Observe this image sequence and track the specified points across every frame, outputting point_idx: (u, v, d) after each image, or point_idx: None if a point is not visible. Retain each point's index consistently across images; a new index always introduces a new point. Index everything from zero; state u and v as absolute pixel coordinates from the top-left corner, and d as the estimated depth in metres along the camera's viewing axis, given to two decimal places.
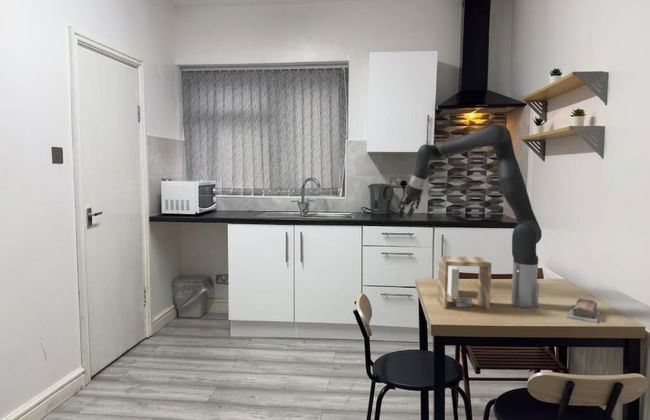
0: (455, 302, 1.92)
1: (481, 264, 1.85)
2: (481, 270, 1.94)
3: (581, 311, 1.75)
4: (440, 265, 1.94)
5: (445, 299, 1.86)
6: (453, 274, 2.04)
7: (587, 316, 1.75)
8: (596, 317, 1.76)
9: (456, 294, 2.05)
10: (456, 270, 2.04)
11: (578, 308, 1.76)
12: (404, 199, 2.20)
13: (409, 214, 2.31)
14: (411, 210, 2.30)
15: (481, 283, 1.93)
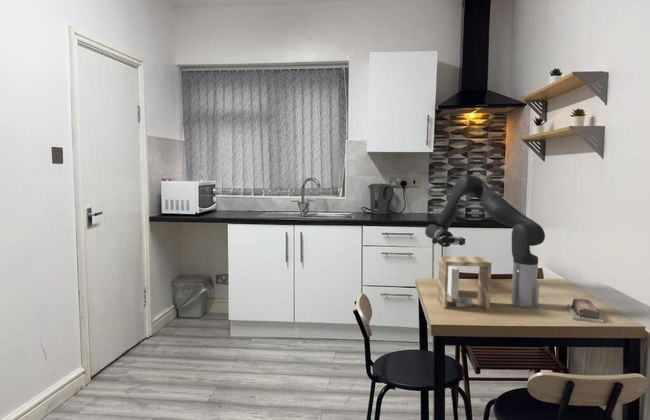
0: (455, 302, 1.92)
1: (481, 264, 1.85)
2: (481, 270, 1.94)
3: (587, 312, 1.74)
4: (440, 265, 1.94)
5: (445, 299, 1.86)
6: (453, 274, 2.04)
7: (592, 316, 1.74)
8: (599, 317, 1.76)
9: (456, 294, 2.05)
10: (456, 270, 2.04)
11: (584, 309, 1.75)
12: (432, 238, 2.20)
13: (460, 242, 2.12)
14: (459, 241, 2.14)
15: (481, 283, 1.93)
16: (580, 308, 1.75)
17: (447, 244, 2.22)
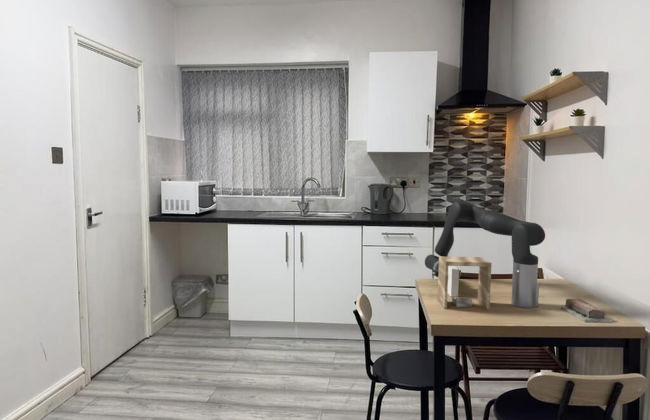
0: (455, 302, 1.92)
1: (481, 264, 1.85)
2: (481, 270, 1.94)
3: (595, 312, 1.74)
4: (440, 265, 1.94)
5: (445, 299, 1.86)
6: (453, 274, 2.04)
7: (599, 317, 1.74)
8: None
9: (456, 294, 2.05)
10: (456, 270, 2.04)
11: (592, 310, 1.73)
12: (432, 271, 2.20)
13: None
14: None
15: (481, 283, 1.93)
16: (588, 309, 1.74)
17: None
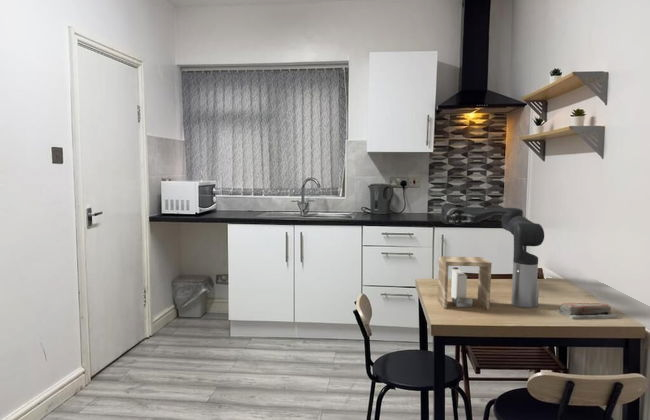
0: (455, 302, 1.92)
1: (481, 264, 1.85)
2: (481, 270, 1.94)
3: None
4: (440, 265, 1.94)
5: (445, 299, 1.86)
6: (461, 281, 1.92)
7: None
8: None
9: None
10: (464, 276, 1.92)
11: None
12: None
13: (472, 219, 2.17)
14: (471, 218, 2.19)
15: (481, 283, 1.93)
16: (608, 306, 1.79)
17: (460, 222, 2.27)
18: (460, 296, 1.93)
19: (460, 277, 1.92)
